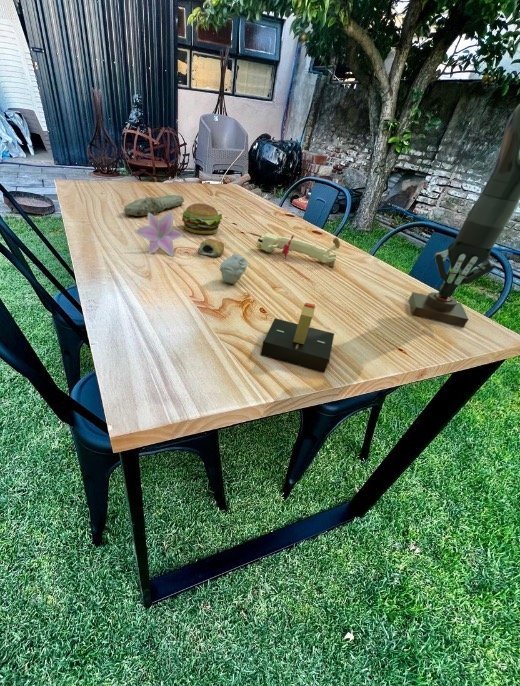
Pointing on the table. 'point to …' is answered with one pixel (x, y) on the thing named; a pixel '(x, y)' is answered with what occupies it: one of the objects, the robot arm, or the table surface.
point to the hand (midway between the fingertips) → (443, 297)
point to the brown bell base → (437, 309)
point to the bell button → (442, 298)
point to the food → (201, 219)
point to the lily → (160, 233)
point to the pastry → (211, 248)
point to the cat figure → (298, 247)
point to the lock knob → (304, 323)
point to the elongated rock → (152, 205)
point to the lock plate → (298, 346)
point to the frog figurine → (233, 268)
